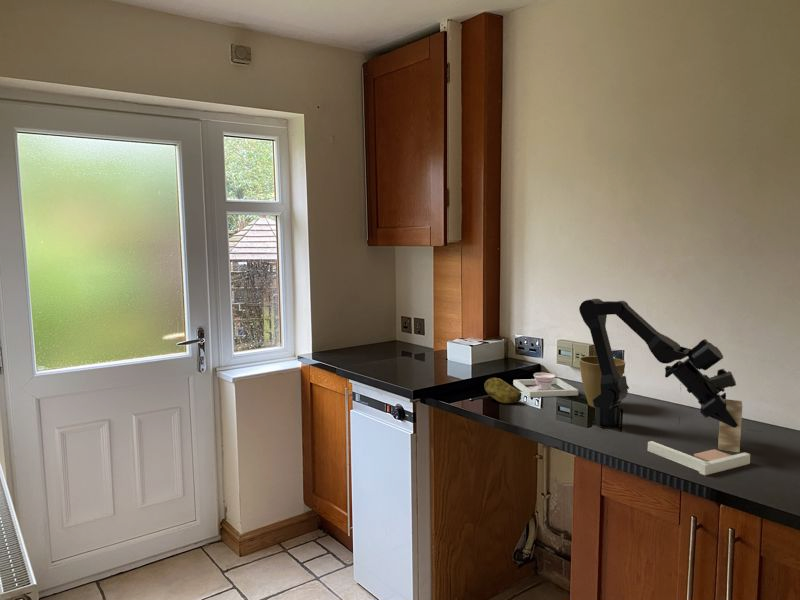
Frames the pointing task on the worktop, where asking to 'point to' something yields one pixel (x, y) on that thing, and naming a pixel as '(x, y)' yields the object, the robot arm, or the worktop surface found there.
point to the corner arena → (713, 457)
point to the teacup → (543, 382)
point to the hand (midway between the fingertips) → (736, 423)
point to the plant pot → (595, 376)
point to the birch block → (731, 428)
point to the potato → (502, 391)
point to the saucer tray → (546, 393)
